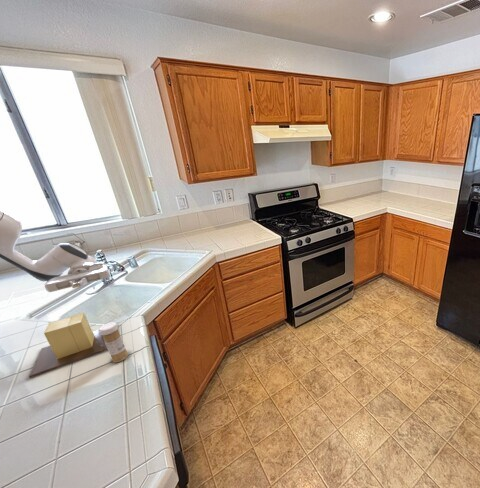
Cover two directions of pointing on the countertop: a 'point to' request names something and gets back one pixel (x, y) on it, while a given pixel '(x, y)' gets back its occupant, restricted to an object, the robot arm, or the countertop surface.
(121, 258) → the countertop surface
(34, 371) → the walnut board
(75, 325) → the butter slice
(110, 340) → the sprinkles bottle
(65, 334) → the butter block
